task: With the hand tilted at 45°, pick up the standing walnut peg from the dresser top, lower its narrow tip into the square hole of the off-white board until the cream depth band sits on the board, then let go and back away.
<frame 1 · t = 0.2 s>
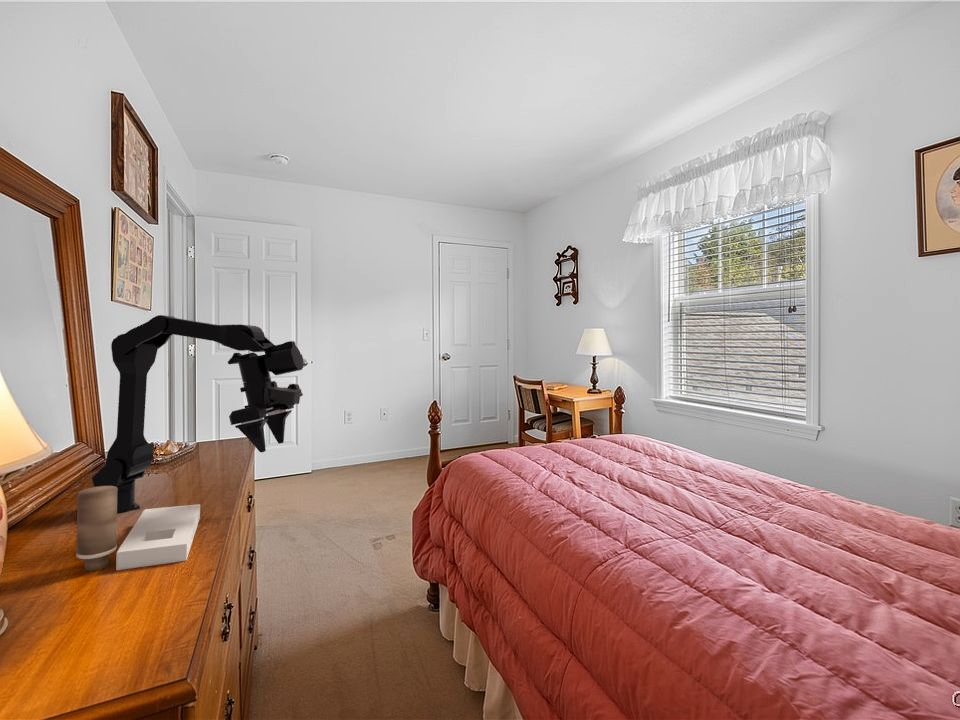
hand: (272, 447, 106), 15 cm above the dresser, tool pointing down, fingers open, 9 cm apart
board: (163, 540, 90), on the dresser
peg: (96, 566, 79), on the dresser
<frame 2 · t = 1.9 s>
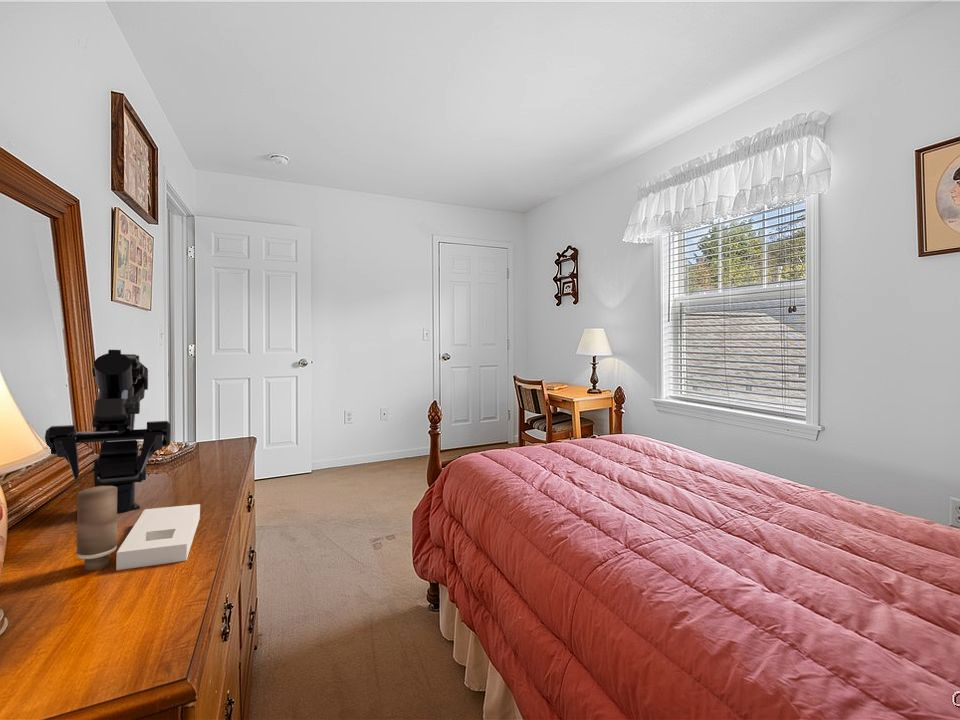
hand: (108, 475, 86), 13 cm above the dresser, tool tilted 45°, fingers open, 9 cm apart
nothing on the dresser moved.
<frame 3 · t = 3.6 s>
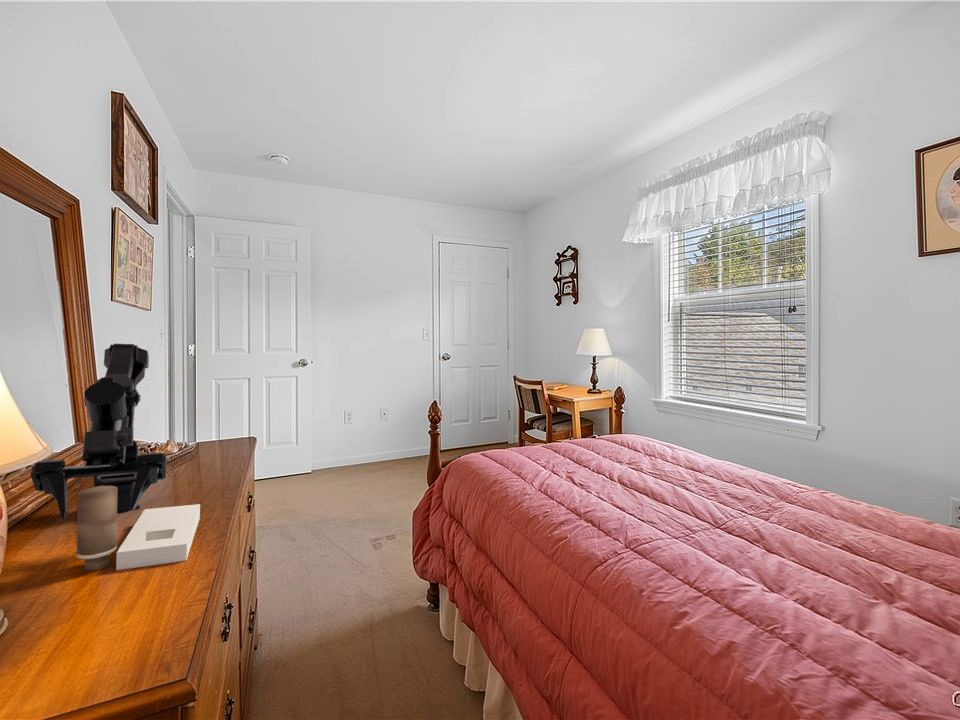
hand: (98, 513, 80), 9 cm above the dresser, tool tilted 45°, fingers open, 9 cm apart
nothing on the dresser moved.
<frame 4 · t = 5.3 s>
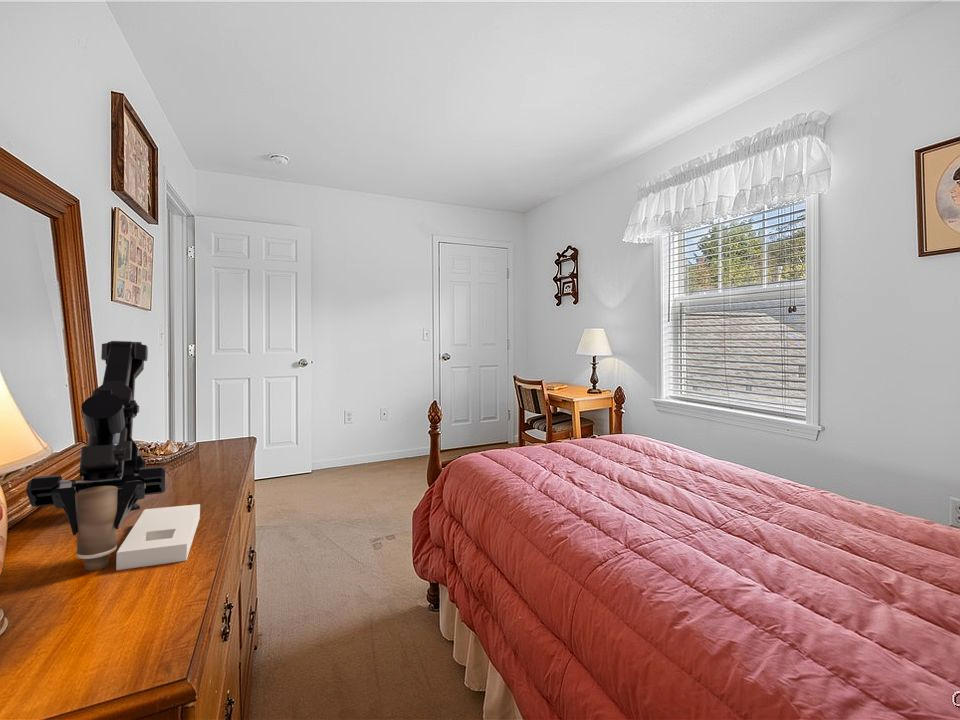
hand: (96, 530, 78), 7 cm above the dresser, tool tilted 45°, fingers closed on peg, 5 cm apart
peg: (96, 566, 79), on the dresser, touching gripper
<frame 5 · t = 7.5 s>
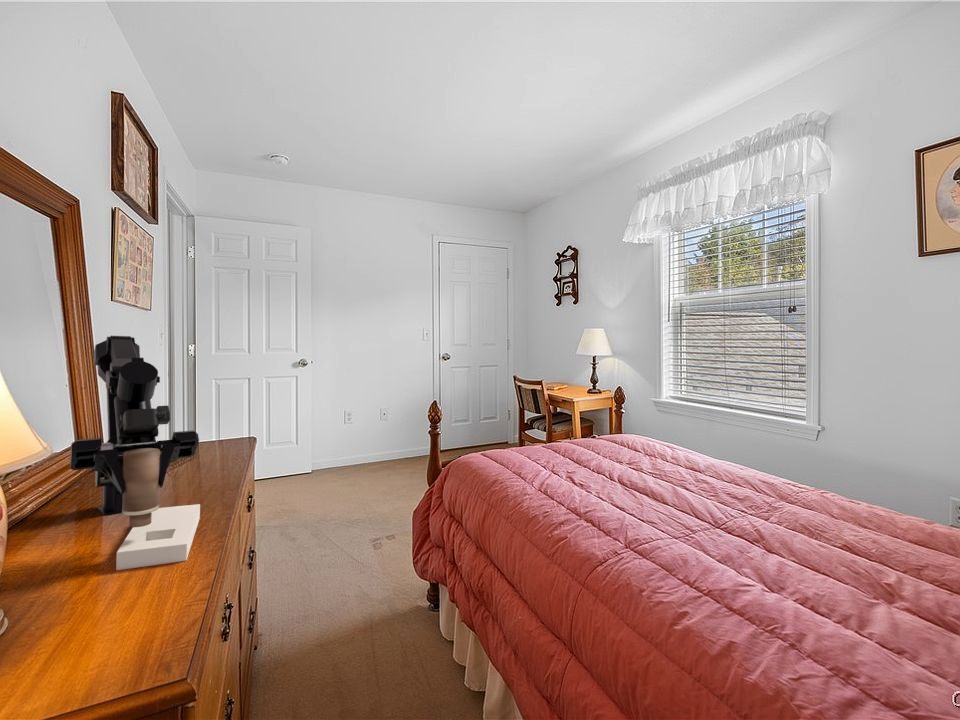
hand: (142, 489, 82), 12 cm above the dresser, tool tilted 45°, fingers closed on peg, 5 cm apart
peg: (140, 523, 84), point 6 cm above the dresser, touching gripper
when the fingers open (8 cm above the dresser, at t = 9.7 s): peg stays where it is, resting on board.
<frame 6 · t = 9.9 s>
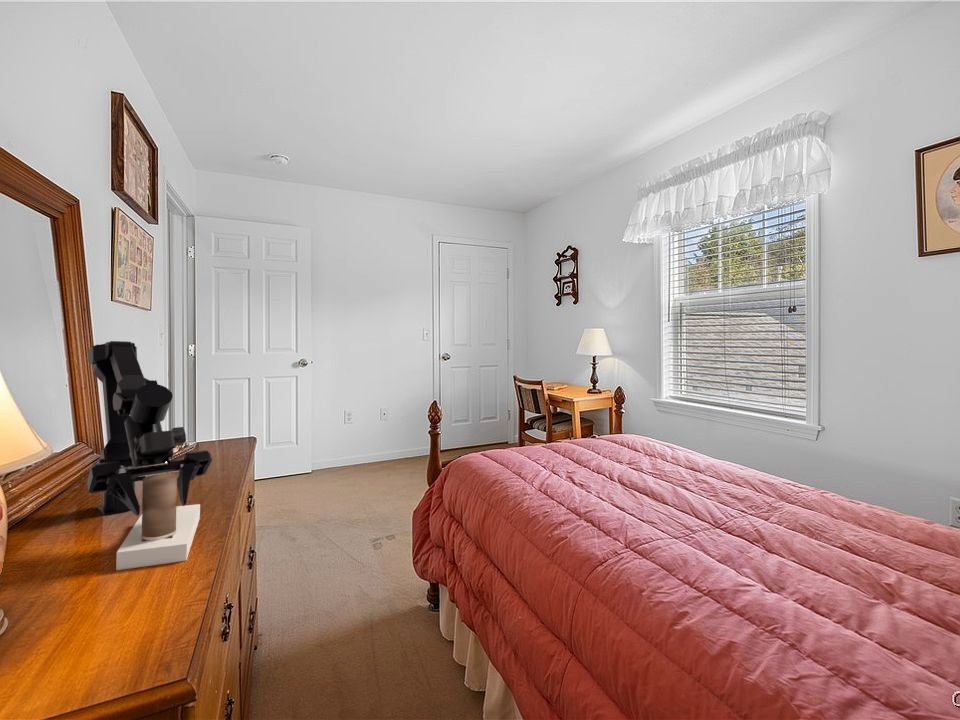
hand: (162, 509, 85), 8 cm above the dresser, tool tilted 45°, fingers open, 7 cm apart
peg: (158, 548, 86), resting on board
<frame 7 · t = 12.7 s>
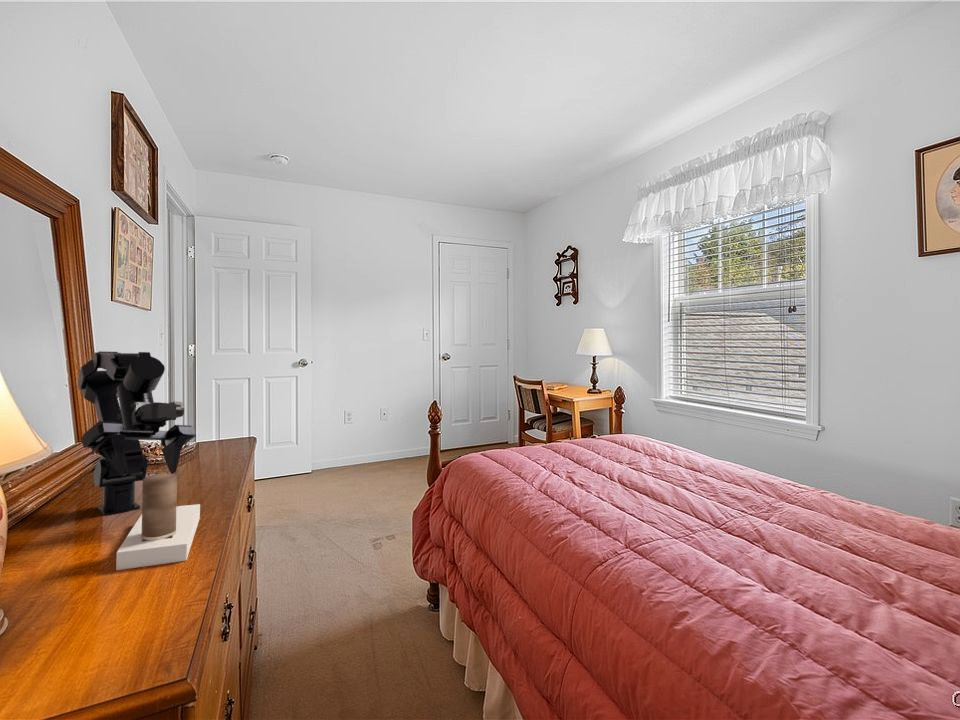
hand: (150, 474, 92), 12 cm above the dresser, tool tilted 35°, fingers open, 9 cm apart
nothing on the dresser moved.
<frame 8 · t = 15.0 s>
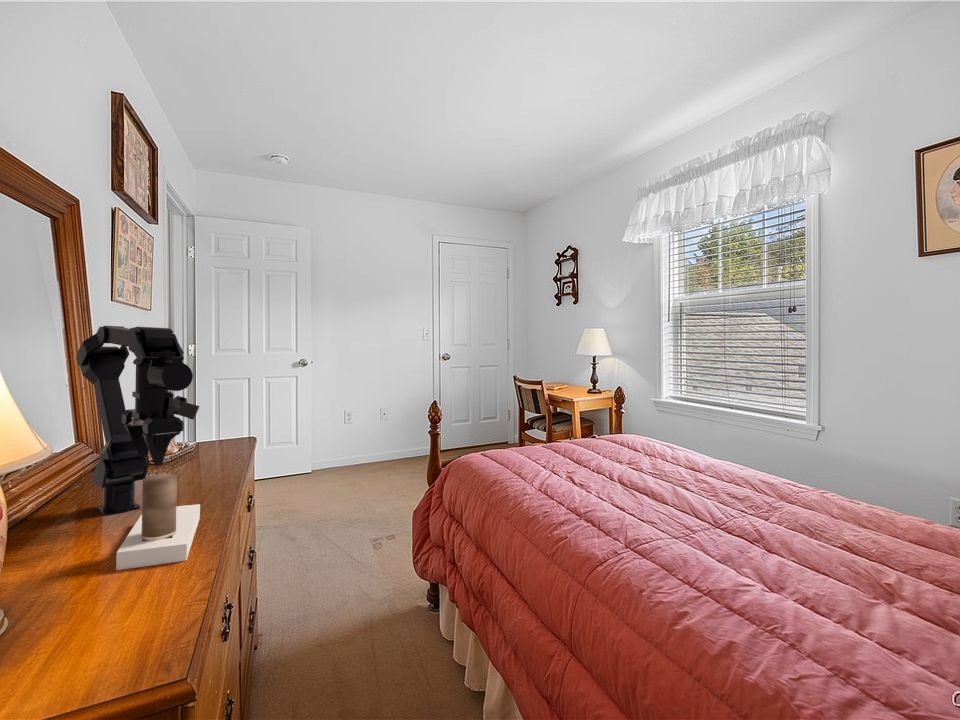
hand: (150, 461, 98), 13 cm above the dresser, tool pointing down, fingers open, 9 cm apart
nothing on the dresser moved.
at the end: peg 0.1 cm from the target spot on the board, point 0.5 cm above the board's base; peg tilted 0°; the gripper is holding nothing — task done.
